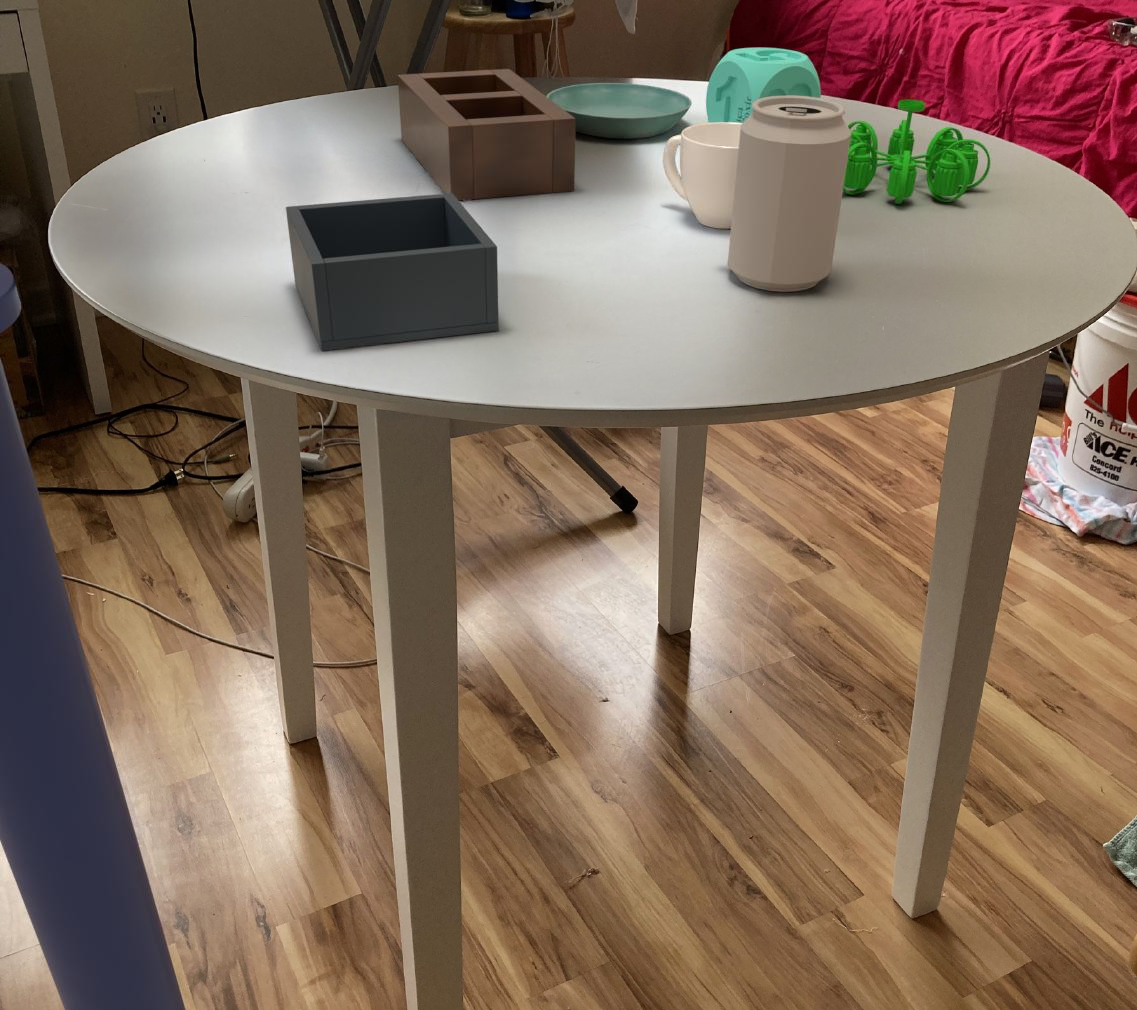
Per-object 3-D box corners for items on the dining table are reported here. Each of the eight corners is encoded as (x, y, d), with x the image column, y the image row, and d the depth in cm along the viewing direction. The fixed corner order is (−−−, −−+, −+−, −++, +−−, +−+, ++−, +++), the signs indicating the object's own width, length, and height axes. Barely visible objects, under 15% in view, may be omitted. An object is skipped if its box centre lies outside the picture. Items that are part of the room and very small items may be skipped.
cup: (736, 242, 92) (745, 153, 88) (634, 215, 97) (638, 129, 93) (788, 219, 97) (798, 133, 93) (688, 194, 102) (694, 112, 98)
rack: (451, 201, 100) (448, 126, 96) (401, 140, 115) (397, 74, 111) (574, 191, 102) (575, 118, 99) (510, 133, 118) (509, 68, 114)
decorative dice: (701, 138, 117) (708, 51, 113) (766, 129, 121) (776, 44, 116) (748, 158, 112) (758, 67, 107) (815, 148, 115) (827, 60, 110)
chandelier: (896, 153, 114) (910, 76, 110) (1020, 194, 104) (1040, 111, 100) (778, 175, 107) (787, 94, 103) (898, 221, 97) (914, 133, 93)
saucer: (581, 150, 113) (582, 121, 111) (524, 115, 124) (524, 88, 122) (716, 137, 118) (718, 109, 116) (649, 104, 129) (650, 78, 127)
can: (835, 266, 88) (861, 95, 81) (821, 301, 82) (848, 121, 75) (736, 254, 90) (753, 86, 83) (716, 288, 84) (732, 110, 77)
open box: (321, 351, 74) (311, 264, 71) (295, 286, 83) (285, 206, 80) (498, 330, 77) (497, 246, 74) (455, 270, 86) (452, 192, 83)
